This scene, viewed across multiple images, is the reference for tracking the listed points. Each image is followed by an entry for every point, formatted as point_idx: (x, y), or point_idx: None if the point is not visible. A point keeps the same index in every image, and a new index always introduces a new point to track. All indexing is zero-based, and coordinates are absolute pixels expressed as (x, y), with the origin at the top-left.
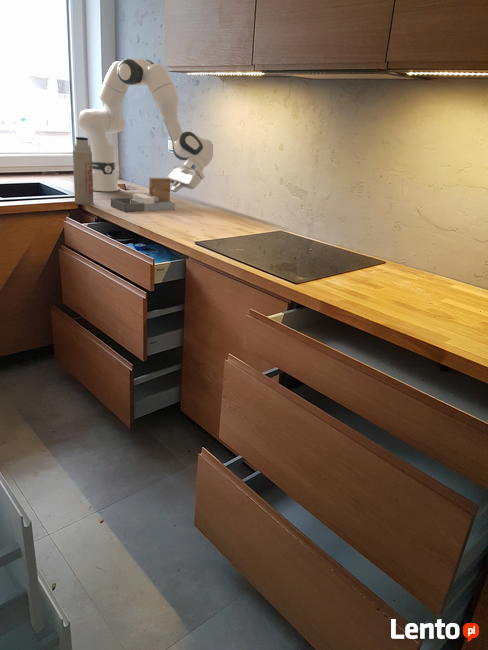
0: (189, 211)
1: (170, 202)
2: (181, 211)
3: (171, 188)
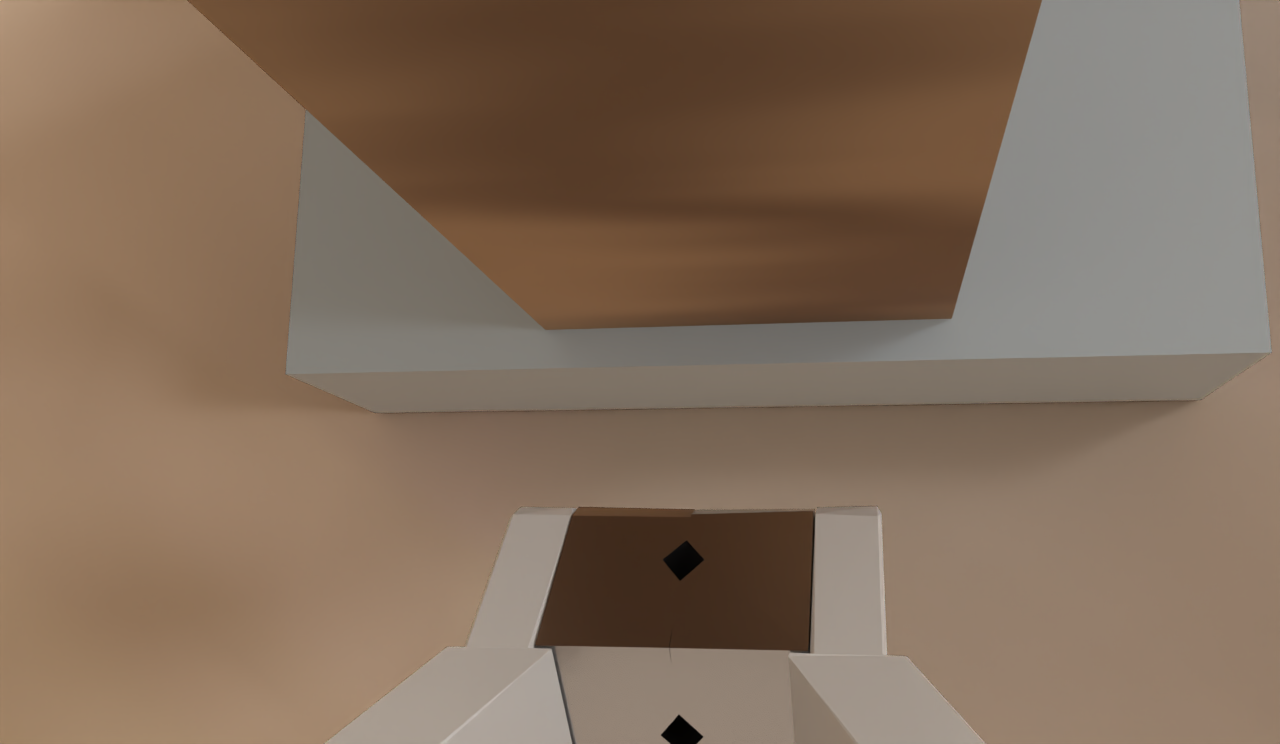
0: (10, 699)
1: (369, 251)
2: (87, 456)
3: (795, 528)
